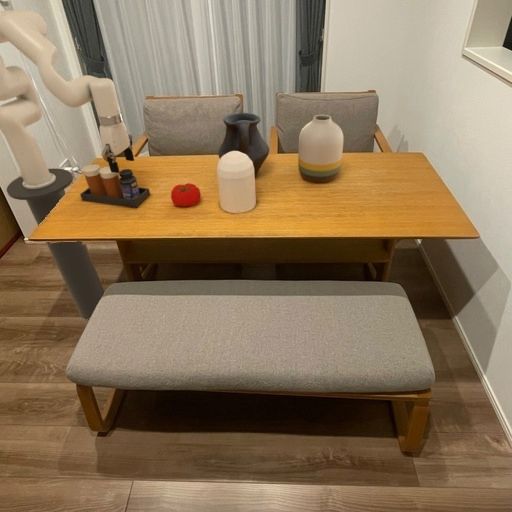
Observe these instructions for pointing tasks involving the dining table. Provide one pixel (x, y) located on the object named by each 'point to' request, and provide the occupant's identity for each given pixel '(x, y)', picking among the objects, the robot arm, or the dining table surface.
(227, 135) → the pitcher
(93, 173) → the amber bottle
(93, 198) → the tray
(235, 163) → the container
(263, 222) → the dining table surface
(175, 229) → the dining table surface
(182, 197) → the tomato
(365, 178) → the dining table surface
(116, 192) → the amber bottle
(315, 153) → the vase
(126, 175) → the pill bottle
